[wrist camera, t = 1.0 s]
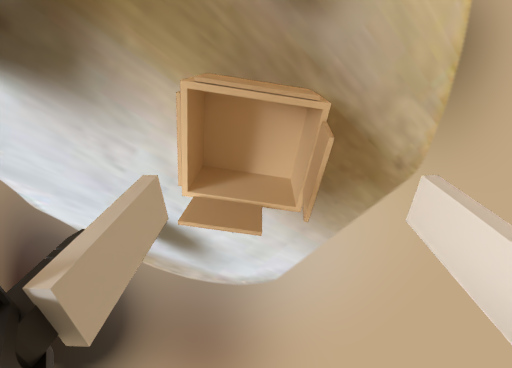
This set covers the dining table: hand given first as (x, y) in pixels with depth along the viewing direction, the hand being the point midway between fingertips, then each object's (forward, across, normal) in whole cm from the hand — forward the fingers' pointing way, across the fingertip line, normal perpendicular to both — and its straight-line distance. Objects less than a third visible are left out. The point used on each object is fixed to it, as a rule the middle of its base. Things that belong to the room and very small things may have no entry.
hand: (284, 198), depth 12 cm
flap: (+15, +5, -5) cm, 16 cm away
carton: (+29, -4, -5) cm, 29 cm away
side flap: (+15, -7, -11) cm, 20 cm away
